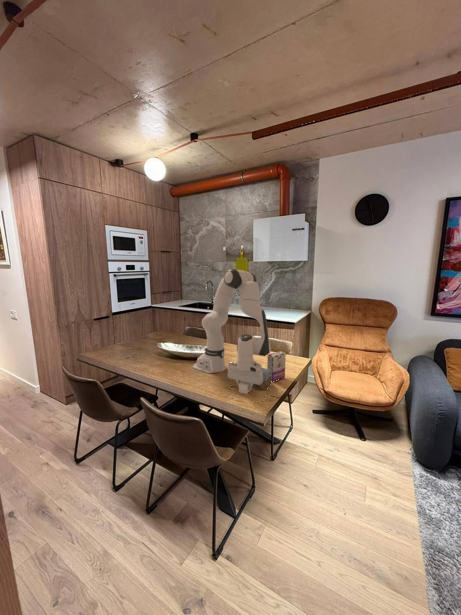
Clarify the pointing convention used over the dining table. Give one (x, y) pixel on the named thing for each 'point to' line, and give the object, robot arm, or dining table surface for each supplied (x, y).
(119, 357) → the dining table surface
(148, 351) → the dining table surface
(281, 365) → the candy bar box
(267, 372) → the grey square block
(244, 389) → the cream cube
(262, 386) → the tan wooden block
